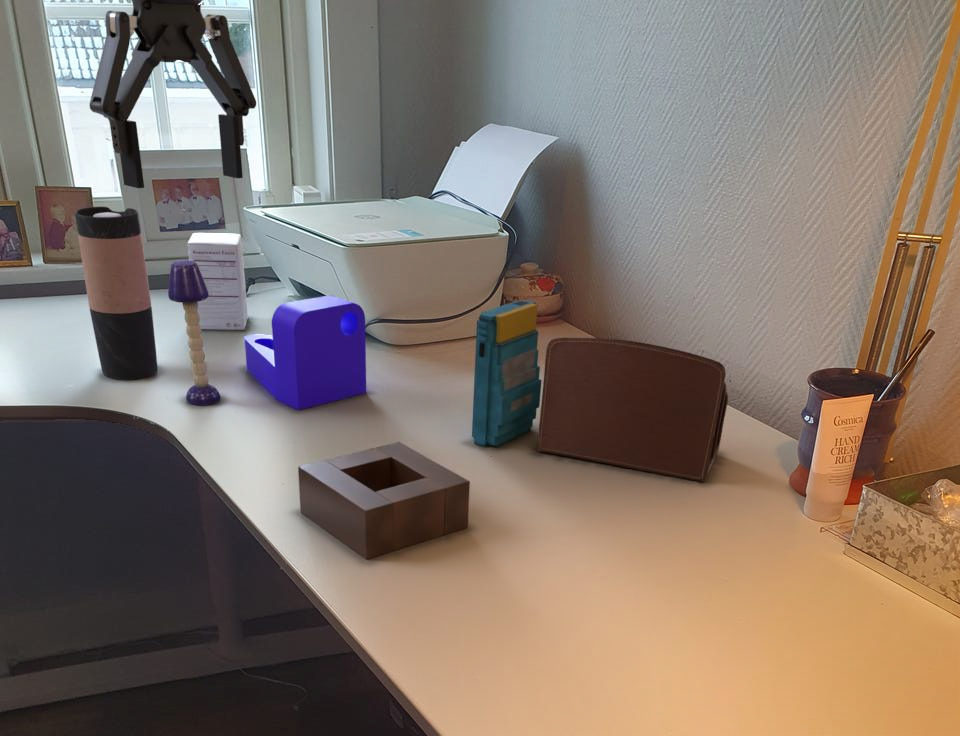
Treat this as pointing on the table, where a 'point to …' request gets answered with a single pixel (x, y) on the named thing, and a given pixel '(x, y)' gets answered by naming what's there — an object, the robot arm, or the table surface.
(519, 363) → the handheld gaming console
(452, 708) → the table surface
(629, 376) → the letter holder
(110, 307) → the travel mug
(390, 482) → the socket base
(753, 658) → the table surface
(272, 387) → the bracket
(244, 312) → the white packaging box
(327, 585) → the table surface
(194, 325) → the toy lamp
